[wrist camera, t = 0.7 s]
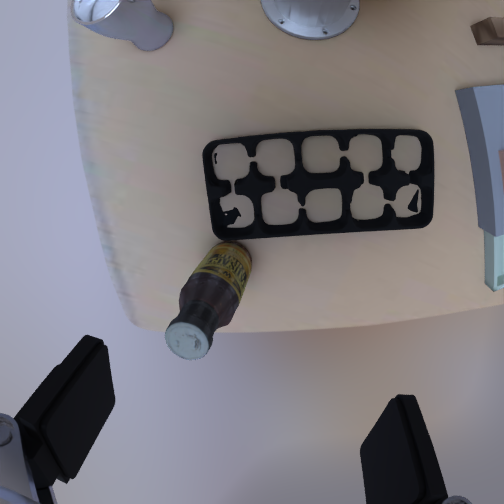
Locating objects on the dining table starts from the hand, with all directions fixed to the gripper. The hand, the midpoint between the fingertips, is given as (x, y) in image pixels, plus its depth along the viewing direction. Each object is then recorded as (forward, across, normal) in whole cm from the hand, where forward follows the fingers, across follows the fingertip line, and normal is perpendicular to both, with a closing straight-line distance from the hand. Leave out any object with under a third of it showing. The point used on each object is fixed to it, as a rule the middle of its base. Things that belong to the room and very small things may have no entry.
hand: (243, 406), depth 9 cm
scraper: (+35, -30, -34) cm, 57 cm away
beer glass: (+35, +20, -20) cm, 45 cm away
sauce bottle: (+34, +5, +10) cm, 36 cm away
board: (+34, -34, -15) cm, 51 cm away
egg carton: (+35, -5, -3) cm, 36 cm away
